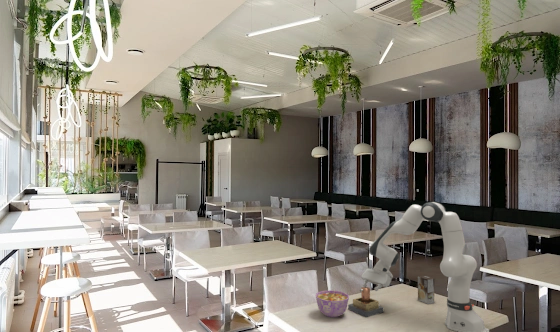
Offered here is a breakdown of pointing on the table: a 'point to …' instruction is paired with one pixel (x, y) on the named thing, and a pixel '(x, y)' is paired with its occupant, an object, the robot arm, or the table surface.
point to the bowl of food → (332, 302)
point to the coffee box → (426, 289)
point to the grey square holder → (365, 307)
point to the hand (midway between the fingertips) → (369, 288)
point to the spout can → (365, 295)
